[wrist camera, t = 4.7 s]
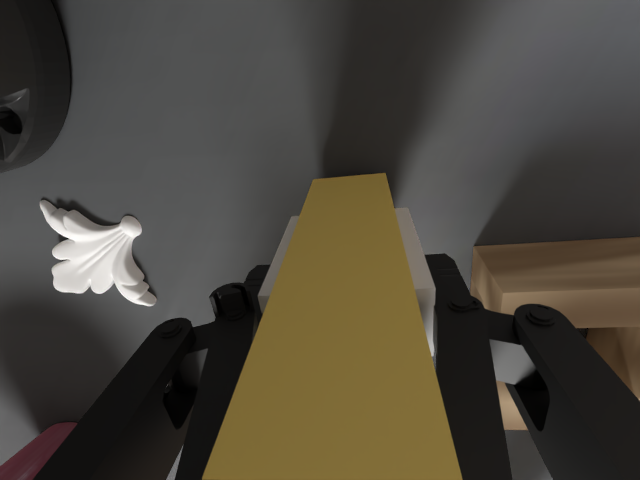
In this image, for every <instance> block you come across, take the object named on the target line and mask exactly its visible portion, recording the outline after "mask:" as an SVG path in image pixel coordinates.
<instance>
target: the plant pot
mask: <svg viewBox="0 0 640 480" xmlns="http://www.w3.org/2000/svg"><path fill="white" fill-rule="evenodd" d="M77 424H78V423H73V422H64V423H58V424H55V425H52V426H51V427H49V428H48V429H46V430H45V431H44V432H43V433H41V434H40V435H39V436H38V437H36V438H35V439H34V440H33V441H31V442H30V443H29V444H28V445H26V446H25V447H24V448H23V449H21V450H20V451H19V452H18V453H16V454H15V455H14V456H13V457H11V458H10V459H9V460H8V461H6V462H5V463H4V464H3V465H1V466H0V480H32V479H33V478H34V477H35V476H36V474H37V473H38V472H39V471H40V470H41V468H42V467H43V466H44V465H45V463H46V462H47V461H48V460H49V458H50V457H51V456H52V455H53V453H54V452H55V451H56V450H57V448H58V447H59V446H60V445H61V444H62V442H63V441H64V440H65V439H66V437H67V436H68V435H69V434H70V432H71V431H72V430H73V429H74V427H75V426H76V425H77Z"/></svg>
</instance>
